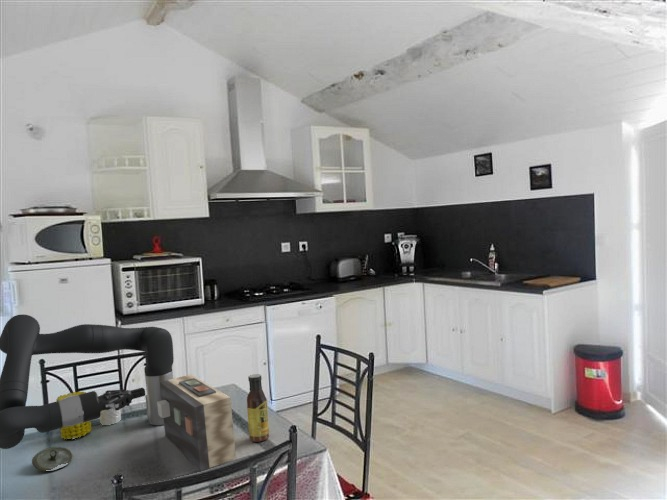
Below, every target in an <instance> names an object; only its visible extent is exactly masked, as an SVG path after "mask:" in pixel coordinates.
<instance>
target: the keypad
mask: <svg viewBox="0 0 667 500" xmlns="http://www.w3.org/2000/svg"><path fill="white" fill-rule="evenodd" d="M160 388H161V398H162V400H166V401H167V402H169V406H170V416H169V417H165V418H164V424H163V427H164V434H165V435H164V437H165V438H167V439H168V440H169V442H171V443H172V444H173V445H174V446H175V447H176V448H177V449H178V450H179V451H180V452H181V453H182V454H183V455H184V456H185V457H186V458H187V459H188V460H189V461H190V462H191V463H192V464H193V465H194V466H195V467H197V468H198V471H201V472H202V471H205V470H207V469H210V468H213V467H215V466H218V465H221V464H225V463H228V462H230V461H233V460H236V459H237V455H236V444H235V433H234V424H233V422H234V421H233V411H232V410H233V409H232V401H231V400H232V399H231V397H230V395H227V394H225V393H224V392H222V391H220V390H219V389H217V388H215V387H213V386H212V385H210V384H208V383H207V382H205V380H204V381H203V380H202V379H200V378H198V377H197V376H195V375H193V374H187V375H183V376H180V377H173V379H170V380H166V381H162V382H160ZM174 408H178V409H179V410H180V415H181V425H180V426H179V425H178V424H177V423H176V422H175V417H174ZM187 416H188V417H189V418H190V419H192V426H193V435H192V436H191V435H190V434H189V433H187V432H186V424H185V417H187Z"/></svg>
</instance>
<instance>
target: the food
mask: <svg viewBox="0 0 667 500" xmlns="http://www.w3.org/2000/svg"><path fill="white" fill-rule="evenodd" d="M84 393H87V392H86V391H77V392H76V391H74V392H68V393H67V394H63V395H59V396H57V398H56V400H55V402H56V401H60V400H63V399H65V398H68V397H72V396H76V395H80V394H84ZM59 429H60V435H61V436H60V437H61V439H62V438H64V439H63V440H65V439H66V438H67V439H71V438H77V439H79V438H78V437H81V436H82V437H83V436H84V437H85V436H86V435H87V434H89V433H91V432H92V422H91V421H87V422H84V423H80V424H77V425H73V426H68V427H62V428H59ZM82 437H81V438H82ZM67 439H66V440H67ZM71 440H72V439H71Z"/></svg>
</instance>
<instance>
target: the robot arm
mask: <svg viewBox="0 0 667 500" xmlns="http://www.w3.org/2000/svg"><path fill="white" fill-rule="evenodd" d="M40 332H41V326H40V323H39V321H38V320H37V319H36V318H35V317H33V316H32V315H29V314H16V315H14V316H12V317H10V318H9V319H8V320H7V322H5V324H4V327H3V330H2V331H1V333H0V351H1V352H2V353H4V354H6V356H5V361H4V364H3V366H2V370H1V373H0V449H3V450H9V449H12V448H14V447H16V446H17V445H18V444H20V443H21V442H22V440H23V438H24V436H25V432H26V430H27V429H36V431H37V432H38V433H40V434H41V433H44V434H45V433H49V432H51V431H54V430H55V431H56V430H59V429H60V428H62V427H68V426H73V425H77V424H80V423H84V422H87V421H90V422H91V421H94V420H97V419H100V418H99V417H100V412H101V411H102V410H112V409H114V408H115V410H120V409H121V410H122V409H123V408H125V407H127V406H128V405H130V404H131V403H132V401H133V400H135V399H138V398H139V399H140V398H143V397H144V398H145V406H146V416H147V422H148V423H149V424H150V425H153V426H164V418H162V417H160V416H159V415H158V405H157V402H158V401H162V398H161V388H160V382H162V381H166V380H170V379H174V375H173V365H174V359H175V358H174V357H175V356H174V343H173V338H172V334H171V333H170V331H168V330H167V329H165V328H162V327H158V326H145V327H121V326H114V325H108V324H107V325H106V324H105V325H103V324H85V323H84V324H78V325H75V326H71V327H69V328H66V329H63V330H59V331H56V332H51V333H40ZM122 350H123V351H125V350H131V351H138V352H139V351H140V352H145V353H146V354H147V364H146V365H145V366H144V370H143V371H144V379H145V381H144V382H145V388H146V389H145V388H143V387H139V388H134V389H132V390H130V389H126V388H125V389H124V388H123V389H110V390H105V392H103V393H104V394H103V395H100V394H98V393H97V391H95V390H92V391H88V392H86V393H84V394H80V395H76V396H72V397H68V398H65V399H63V400H60V401H56V400H55V401H54V402H50V403H46V404H42V405H27V400H28V392H29V384H30V383H29V382H30V373H31V366H32V365H31V363H32V357H33V356H38V355H46V354H47V355H49V354H106V353H112V352H116V351H122ZM98 395H100V396H98Z"/></svg>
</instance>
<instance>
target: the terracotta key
mask: <svg viewBox="0 0 667 500" xmlns="http://www.w3.org/2000/svg"><path fill="white" fill-rule="evenodd" d="M185 424H186V432H187V433H189V434H190V435H191V436H192V435H193V426H192V419H190V418H189V417H188V416H187V417H185Z"/></svg>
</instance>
